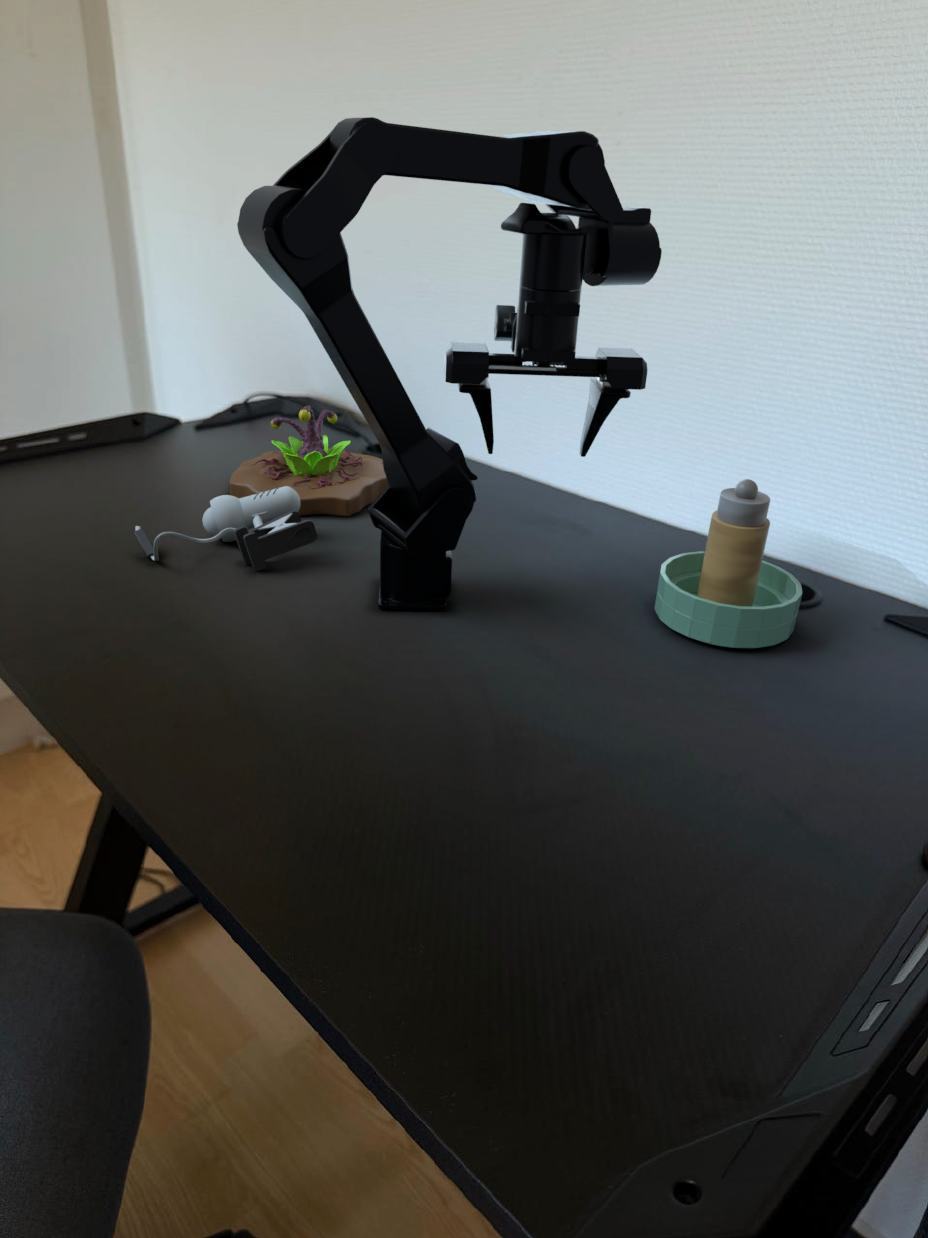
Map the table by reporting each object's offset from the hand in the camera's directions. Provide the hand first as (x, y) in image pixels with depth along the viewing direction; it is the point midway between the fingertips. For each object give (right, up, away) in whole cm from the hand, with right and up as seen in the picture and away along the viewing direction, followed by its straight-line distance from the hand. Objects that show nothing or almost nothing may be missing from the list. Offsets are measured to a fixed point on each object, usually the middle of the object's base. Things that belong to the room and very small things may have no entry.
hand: (536, 454), depth 88 cm
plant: (-27, 0, +27) cm, 38 cm away
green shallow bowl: (+18, -16, -2) cm, 24 cm away
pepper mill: (+18, -16, -2) cm, 24 cm away
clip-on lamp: (-33, -9, +7) cm, 35 cm away
